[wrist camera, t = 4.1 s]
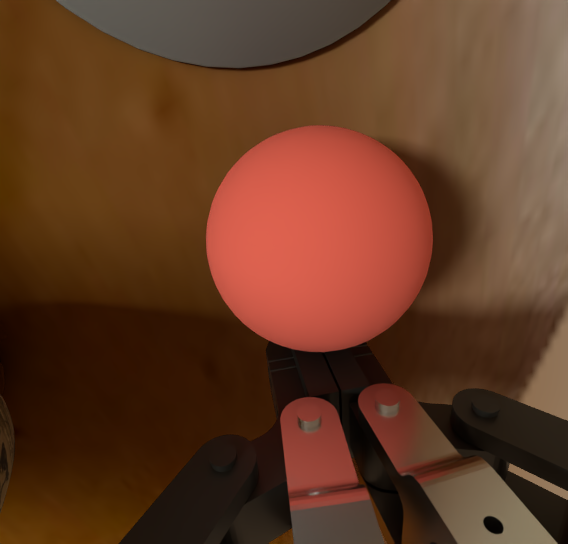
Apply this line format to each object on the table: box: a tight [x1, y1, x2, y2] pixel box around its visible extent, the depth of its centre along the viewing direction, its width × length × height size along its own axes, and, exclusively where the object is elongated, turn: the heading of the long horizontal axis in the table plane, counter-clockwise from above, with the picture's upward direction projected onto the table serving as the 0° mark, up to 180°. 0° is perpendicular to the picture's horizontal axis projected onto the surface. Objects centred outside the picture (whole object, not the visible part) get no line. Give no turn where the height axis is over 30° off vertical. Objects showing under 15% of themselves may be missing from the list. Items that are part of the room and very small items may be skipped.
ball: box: [206, 125, 433, 352], centre depth 10 cm, size 6×6×6 cm
